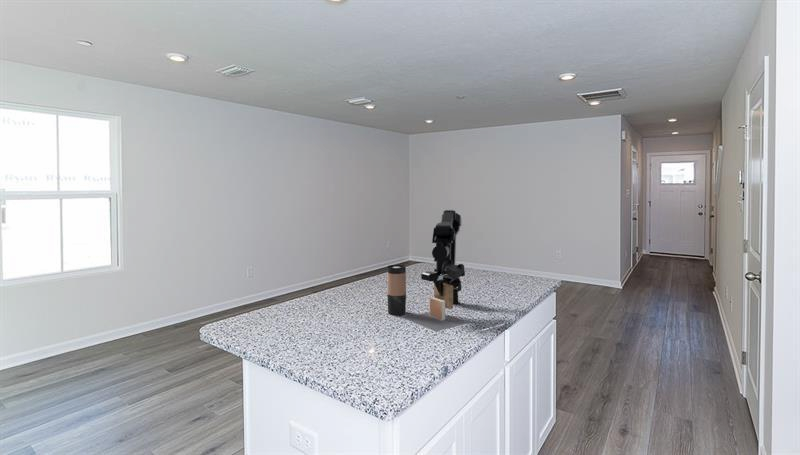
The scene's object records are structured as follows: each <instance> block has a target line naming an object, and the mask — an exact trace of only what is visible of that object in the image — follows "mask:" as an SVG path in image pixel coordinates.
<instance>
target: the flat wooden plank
mask: <svg viewBox="0 0 800 455" xmlns="http://www.w3.org/2000/svg"><path fill="white" fill-rule="evenodd" d="M433 288H434V289H433V292H434V293H433V297H434V298H437V299H440V300H444V301H445V309H447V310H451V309H454V304H453V285H449V284H445V283H443V295H442V296H440V294H439V292H438V290H437V288H436V286H435V284H434V283H433Z"/></svg>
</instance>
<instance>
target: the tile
mask: <svg viewBox="0 0 800 455" xmlns="http://www.w3.org/2000/svg"><path fill="white" fill-rule="evenodd" d="M429 312H430V316H431V317H434V318H437V319H439V320H445V315H446V308H445V301H444V300H440V299H437V298H434V296H432V297H429Z"/></svg>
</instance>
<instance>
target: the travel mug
mask: <svg viewBox="0 0 800 455" xmlns="http://www.w3.org/2000/svg"><path fill="white" fill-rule="evenodd" d="M406 269H407V268H406V265H403V264H391V265H390V264H389V265H387V269H386V270H387V272H386V274H387V277H386V278H387V279H386V280H387V281H386V283H387V286H386V287H387V290H386V291H387V293H386V294H387V312H388V315H390V316H395V317H399V316H404V315H406V309H407V307H406V305H407V304H406V303H407V282H406V281H407V277H406V276H407V274H406V273H407V271H406Z"/></svg>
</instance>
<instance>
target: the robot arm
mask: <svg viewBox="0 0 800 455" xmlns="http://www.w3.org/2000/svg"><path fill="white" fill-rule="evenodd" d="M461 227H462V216H461V215H460V214H459V213H457V211H456V210H453V209H445V210H443V213H442V215H441V220H440V222H438V223H436V225H435V227H433V233H432V240H431V243H432V244H435V246H434V247H433V248H432V252H431V255H432V257H433V259H434V260H433V261H434V262H435V264H436V267H435V268H433V269H434V271H429V270H428V271H422V273H420V274H421V276H420V279H421V280H422V281H423V280H424V281H426V282H433V285H434V284H435V286H436V288H437V290H438V292H439V294H440V296H442V295H443V283H445V284H449V285H453V305H459V304H461V302H460V301H459V292H461V291H462V280H461V279H460V278H461V277H465V276H466V270H465V265H464V264H463V263H459V264H456V258H457V257H456V255H457V250H456V249H457V235H458V233H459V232H460V229H461Z"/></svg>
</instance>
